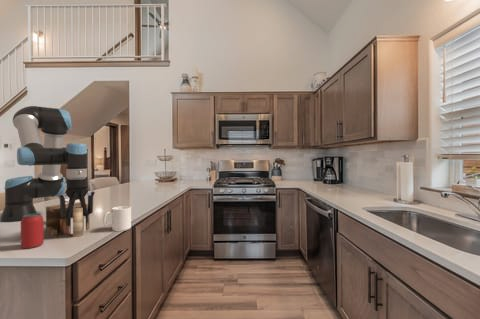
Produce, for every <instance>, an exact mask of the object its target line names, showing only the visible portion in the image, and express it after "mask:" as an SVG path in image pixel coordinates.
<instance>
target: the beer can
mask: <svg viewBox="0 0 480 319" xmlns="http://www.w3.org/2000/svg"><path fill="white" fill-rule="evenodd" d="M43 244H44V217H43V215H42V213H37V214H28V215H24V216H23V218H22V220H21V221H20V247H21V248H22V249H34V248H37V247H40V246H42V245H43Z"/></svg>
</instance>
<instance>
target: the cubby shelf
mask: <svg viewBox="0 0 480 319" xmlns="http://www.w3.org/2000/svg"><path fill="white" fill-rule="evenodd" d="M65 206H66V213H67V209H68V204H65ZM76 207H81V203H80V202H77V203H74V206H73V208H76ZM86 207H87V211H88V203H86ZM60 219H63V218H62V217H61V213H60V204H54V205H49V206H45V232H46V233H47V234H49V236H52V238H53V237H58V231H60ZM87 230H90V214H89V215H88V222H87V223H86V231H87Z"/></svg>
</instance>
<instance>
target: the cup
mask: <svg viewBox="0 0 480 319" xmlns="http://www.w3.org/2000/svg"><path fill="white" fill-rule="evenodd" d="M108 215H111V223H110V224H108V223H107V222H106V221H107V216H108ZM102 223H103V226H105V227H106V228H111V230H112V231H113V232H124V231H128V230H130V229H131V228H132V206H129V205H122V206H121V205H120V206H114V207H112V208H111V211H107V212H105V213H104V214H103V218H102Z"/></svg>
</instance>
